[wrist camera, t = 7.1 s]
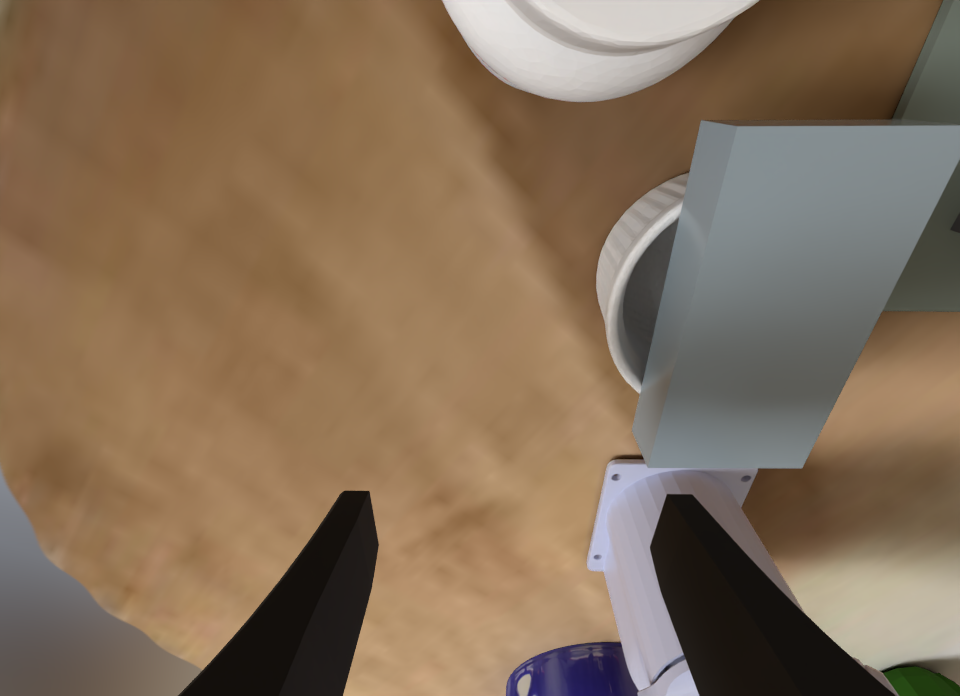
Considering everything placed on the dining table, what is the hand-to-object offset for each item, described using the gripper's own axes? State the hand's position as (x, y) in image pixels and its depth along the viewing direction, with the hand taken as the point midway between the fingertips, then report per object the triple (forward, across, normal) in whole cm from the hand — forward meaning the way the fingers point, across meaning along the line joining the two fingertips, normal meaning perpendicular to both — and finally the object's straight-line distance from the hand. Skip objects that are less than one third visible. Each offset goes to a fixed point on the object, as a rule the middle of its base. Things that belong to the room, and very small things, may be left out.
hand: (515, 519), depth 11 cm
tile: (+6, -8, -3) cm, 10 cm away
